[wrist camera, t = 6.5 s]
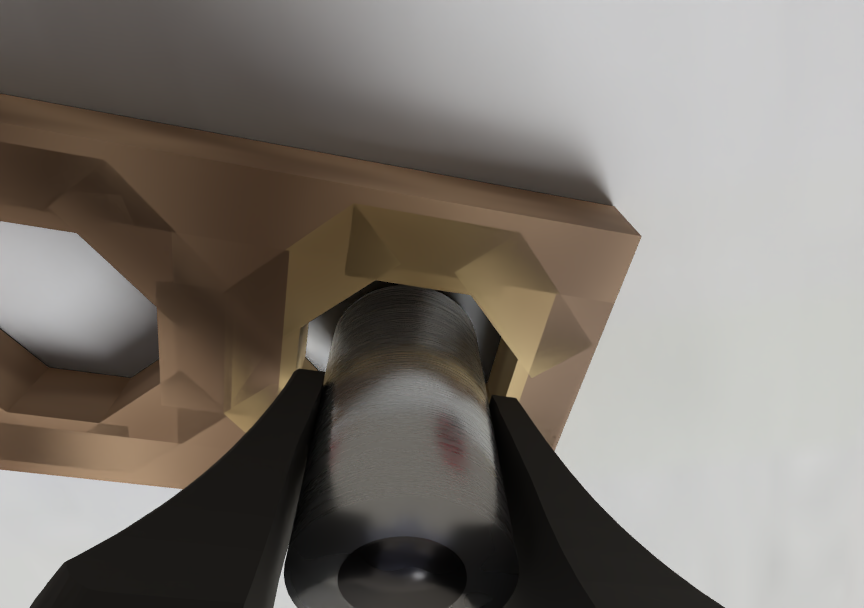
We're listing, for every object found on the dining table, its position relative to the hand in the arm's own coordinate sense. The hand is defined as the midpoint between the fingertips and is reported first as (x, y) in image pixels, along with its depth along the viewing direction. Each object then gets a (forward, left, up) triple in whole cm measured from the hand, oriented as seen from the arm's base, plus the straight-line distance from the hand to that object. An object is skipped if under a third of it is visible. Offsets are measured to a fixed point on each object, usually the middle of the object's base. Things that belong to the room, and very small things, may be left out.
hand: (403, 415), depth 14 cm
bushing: (0, 0, -2) cm, 3 cm away
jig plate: (-4, 0, -3) cm, 6 cm away
